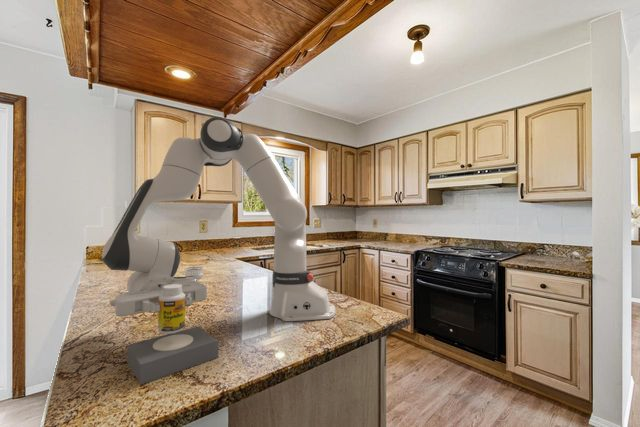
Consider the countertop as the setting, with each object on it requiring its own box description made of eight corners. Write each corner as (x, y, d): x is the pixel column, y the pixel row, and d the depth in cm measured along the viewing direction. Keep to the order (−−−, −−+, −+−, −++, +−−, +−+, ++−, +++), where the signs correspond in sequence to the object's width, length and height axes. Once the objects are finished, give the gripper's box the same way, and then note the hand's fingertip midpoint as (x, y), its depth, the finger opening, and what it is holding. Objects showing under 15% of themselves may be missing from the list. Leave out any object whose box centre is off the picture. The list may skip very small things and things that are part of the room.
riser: (198, 341, 79) (198, 325, 79) (218, 357, 70) (218, 339, 70) (127, 362, 68) (127, 344, 68) (140, 384, 59) (140, 363, 59)
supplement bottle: (159, 337, 65) (159, 290, 65) (157, 328, 70) (157, 284, 69) (187, 331, 68) (187, 287, 68) (183, 323, 73) (183, 281, 73)
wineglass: (197, 301, 114) (197, 270, 114) (181, 300, 115) (181, 269, 115) (206, 296, 121) (206, 266, 121) (191, 295, 122) (191, 266, 122)
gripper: (108, 287, 71) (119, 300, 61) (194, 275, 85) (216, 284, 75) (107, 314, 71) (119, 331, 61) (194, 297, 85) (215, 309, 75)
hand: (173, 305), depth 68 cm, fingers closed on supplement bottle, 6 cm apart
